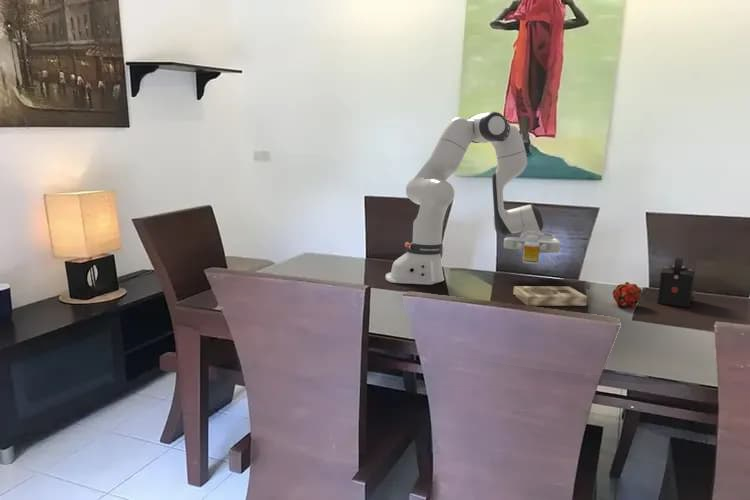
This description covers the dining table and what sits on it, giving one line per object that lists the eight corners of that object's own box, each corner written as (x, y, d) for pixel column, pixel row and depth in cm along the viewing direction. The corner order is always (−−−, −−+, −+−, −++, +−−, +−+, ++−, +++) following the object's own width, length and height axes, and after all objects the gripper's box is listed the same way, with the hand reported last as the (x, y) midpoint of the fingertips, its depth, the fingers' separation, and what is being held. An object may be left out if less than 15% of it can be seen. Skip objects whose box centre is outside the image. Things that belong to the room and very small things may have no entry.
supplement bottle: (539, 264, 203) (542, 237, 201) (524, 263, 203) (526, 237, 201) (535, 261, 208) (538, 235, 206) (521, 261, 208) (523, 234, 206)
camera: (694, 300, 197) (699, 257, 194) (692, 309, 185) (698, 264, 182) (659, 295, 202) (664, 254, 200) (656, 303, 190) (661, 260, 188)
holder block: (527, 305, 184) (528, 296, 183) (513, 294, 198) (513, 285, 197) (586, 305, 186) (587, 296, 185) (568, 294, 199) (569, 286, 199)
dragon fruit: (635, 307, 191) (621, 319, 182) (615, 289, 194) (600, 300, 186) (652, 291, 185) (638, 303, 177) (631, 273, 189) (617, 283, 180)
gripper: (504, 231, 219) (502, 236, 206) (559, 236, 214) (561, 241, 201) (503, 248, 220) (501, 253, 207) (558, 252, 215) (559, 258, 202)
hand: (531, 247), depth 204 cm, fingers closed on supplement bottle, 5 cm apart
